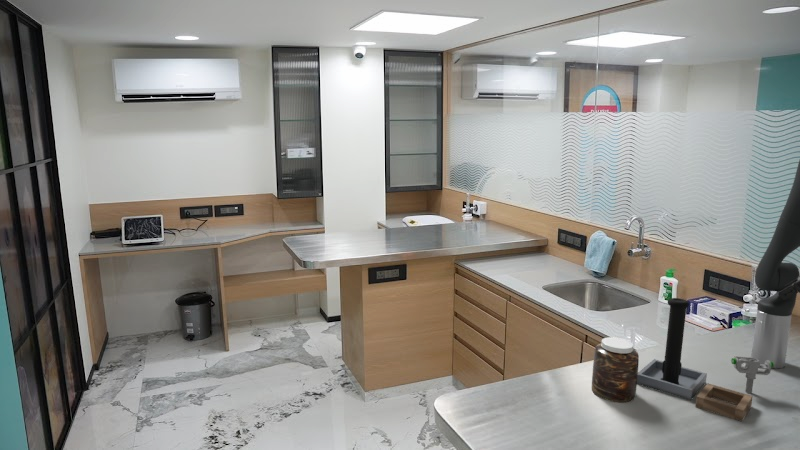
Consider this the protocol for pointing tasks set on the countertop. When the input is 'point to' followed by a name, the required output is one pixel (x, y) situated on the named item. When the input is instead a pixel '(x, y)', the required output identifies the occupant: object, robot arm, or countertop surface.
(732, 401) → the collar
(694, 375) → the tray
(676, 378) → the tube
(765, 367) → the mechanical component
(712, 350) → the countertop surface
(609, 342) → the jar
